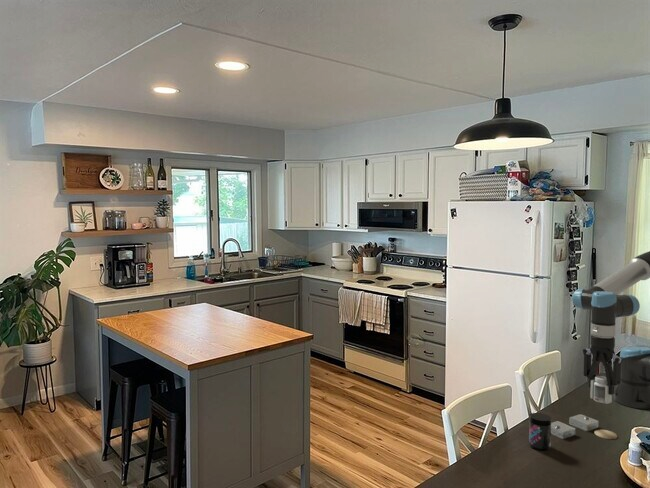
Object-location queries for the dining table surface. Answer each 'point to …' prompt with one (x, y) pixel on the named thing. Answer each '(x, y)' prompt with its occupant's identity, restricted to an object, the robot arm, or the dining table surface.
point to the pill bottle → (600, 389)
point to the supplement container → (540, 431)
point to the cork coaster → (605, 434)
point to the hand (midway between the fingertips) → (600, 399)
